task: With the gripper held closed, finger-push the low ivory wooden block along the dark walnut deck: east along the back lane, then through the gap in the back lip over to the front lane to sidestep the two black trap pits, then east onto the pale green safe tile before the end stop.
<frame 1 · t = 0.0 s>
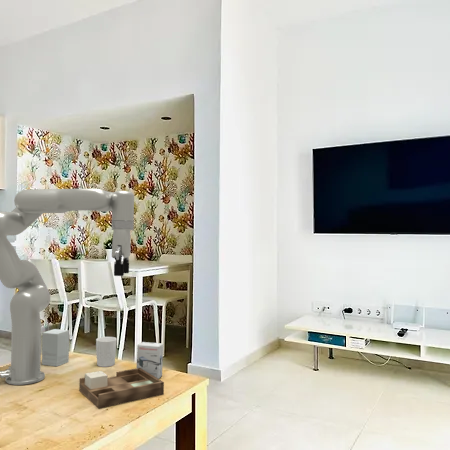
hand: (121, 274, 159), 37 cm above the table, tool pointing down, fingers open, 9 cm apart
supplement box: (55, 363, 177), on the table
ivory block: (96, 385, 146), point 2 cm above the table, touching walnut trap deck
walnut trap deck: (121, 392, 147), on the table
ink box: (149, 377, 163), on the table
light grey cylinder: (105, 364, 177), on the table
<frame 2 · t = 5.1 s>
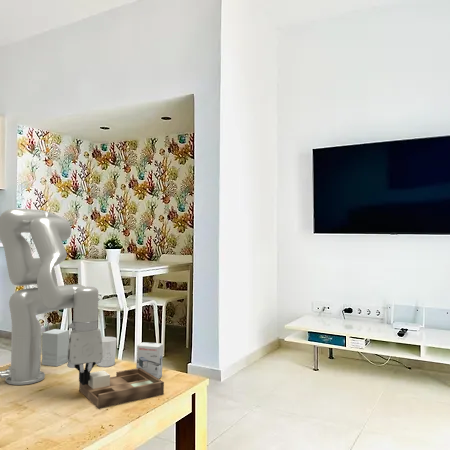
hand: (84, 383, 143), 4 cm above the table, tool pointing down, fingers closed
ivory block: (98, 384, 146), point 3 cm above the table, touching gripper, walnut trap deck
everything else where it was.
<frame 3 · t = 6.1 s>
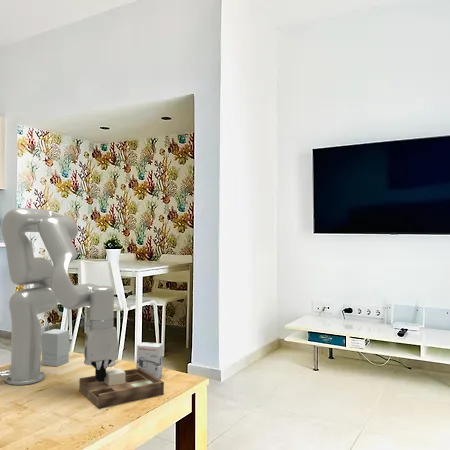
hand: (100, 380, 146), 4 cm above the table, tool pointing down, fingers closed
ivory block: (114, 382, 149), point 3 cm above the table, touching gripper
everything else where it was.
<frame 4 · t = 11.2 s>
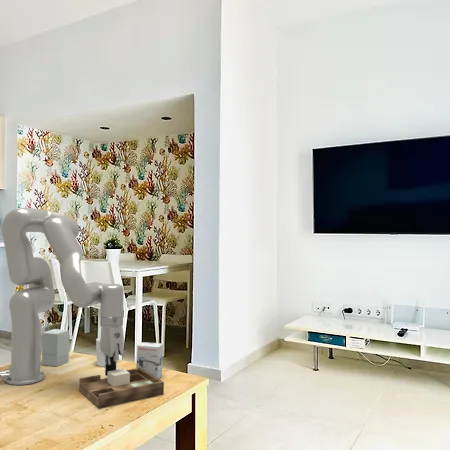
hand: (110, 375, 152), 4 cm above the table, tool pointing down, fingers closed
ivory block: (118, 382, 148), point 3 cm above the table, touching gripper
everything else where it was.
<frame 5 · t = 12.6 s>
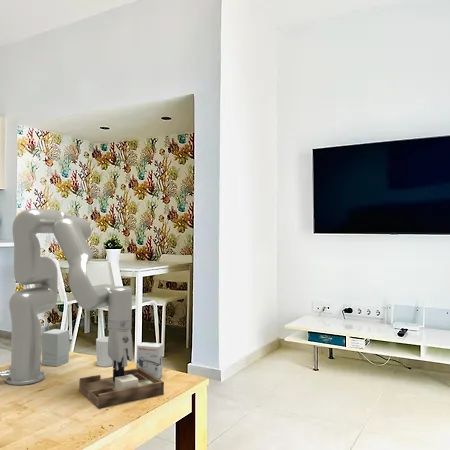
hand: (118, 381, 146), 4 cm above the table, tool pointing down, fingers closed
ivory block: (126, 389, 143), point 2 cm above the table, touching gripper, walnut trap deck
everything else where it was.
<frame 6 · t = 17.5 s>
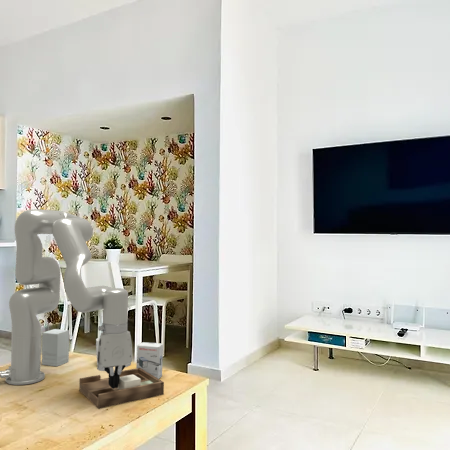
hand: (113, 386, 141), 4 cm above the table, tool pointing down, fingers closed
nothing on the table moved.
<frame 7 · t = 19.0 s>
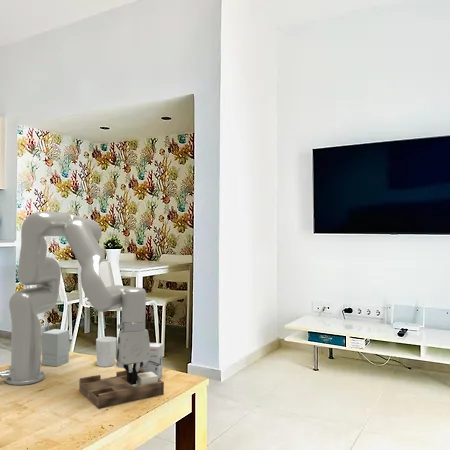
hand: (132, 383, 145), 4 cm above the table, tool pointing down, fingers closed
ivory block: (146, 385, 146), point 2 cm above the table, touching gripper, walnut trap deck
everything else where it was.
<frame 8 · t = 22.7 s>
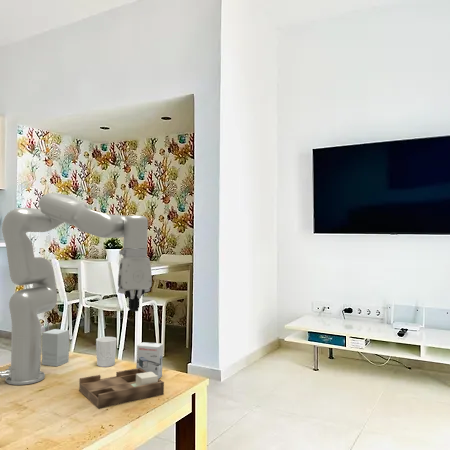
hand: (133, 310, 145), 27 cm above the table, tool pointing down, fingers closed
ivory block: (146, 385, 146), point 2 cm above the table, touching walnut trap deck
everything else where it was.
at the end: ivory block inside the target area (1.2 cm from its centre), point 2.4 cm above the table; ivory block tilted 0° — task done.
